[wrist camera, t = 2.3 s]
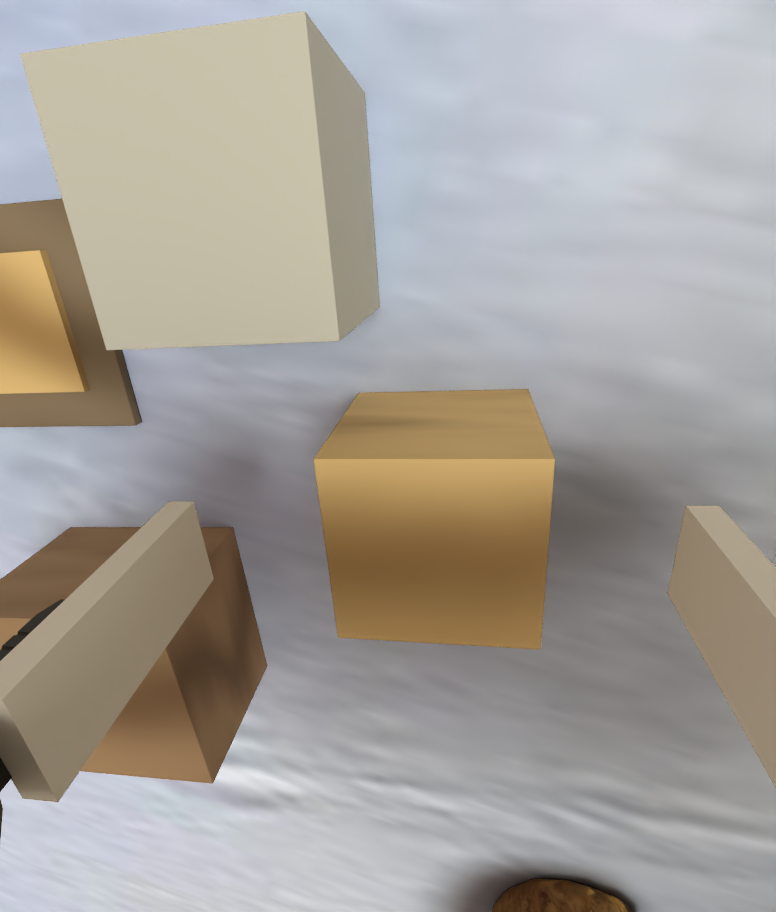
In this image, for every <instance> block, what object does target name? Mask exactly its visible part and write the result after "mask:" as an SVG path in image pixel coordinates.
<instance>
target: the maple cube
mask: <svg viewBox="0 0 776 912" xmlns="http://www.w3.org/2000/svg"><path fill="white" fill-rule="evenodd" d="M314 466H315V473H316V481H317V488H318V495H319V503H320V510H321V517H322V525H323V532H324V539H325V547H326V554H327V561H328V569H329V576H330V583H331V590H332V598H333V605H334V612H335V620H336V627H337V634H338V638H353V639H370V640H387V641H404V642H421V643H438V644H455V645H472V646H489V647H506V648H523V649H540V650H541V638H542V625H543V612H544V599H545V585H546V572H547V559H548V546H549V533H550V519H551V506H552V493H553V480H554V467H555V458H554V455H553V453H552V450H551V447H550V445H549V442H548V440H547V437H546V434H545V432H544V429H543V427H542V424H541V421H540V419H539V416H538V414H537V411H536V408H535V406H534V403H533V401H532V398H531V395H530V393H529V390H528V389H510V390H463V391H417V392H370V393H358V395H357V396H356V398H355V399H354V401H353V402H352V403H351V405H350V406H349V408H348V409H347V411H346V412H345V414H344V415H343V417H342V418H341V420H340V421H339V423H338V424H337V425H336V427H335V428H334V430H333V431H332V433H331V434H330V436H329V437H328V439H327V440H326V442H325V443H324V445H323V446H322V447H321V449H320V450H319V452H318V453H317V455H316V456H315V458H314Z"/></svg>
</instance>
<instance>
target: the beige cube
mask: <svg viewBox="0 0 776 912" xmlns="http://www.w3.org/2000/svg"><path fill="white" fill-rule="evenodd" d="M20 56H21V59H22V63H23V66H24V70H25V73H26V76H27V80H28V83H29V87H30V90H31V93H32V97H33V100H34V104H35V107H36V111H37V114H38V117H39V121H40V124H41V128H42V131H43V135H44V138H45V141H46V145H47V148H48V152H49V155H50V159H51V162H52V165H53V169H54V172H55V176H56V179H57V182H58V186H59V189H60V193H61V196H62V200H63V203H64V206H65V210H66V213H67V217H68V220H69V224H70V227H71V230H72V234H73V237H74V241H75V244H76V248H77V251H78V254H79V258H80V261H81V265H82V268H83V271H84V275H85V278H86V282H87V285H88V289H89V292H90V295H91V299H92V302H93V306H94V309H95V313H96V316H97V319H98V323H99V326H100V330H101V333H102V337H103V340H104V343H105V347H106V350H124V349H149V348H175V347H200V346H225V345H250V344H275V343H300V342H326V341H340V340H341V339H342V338H343V337H345V336H346V335H347V334H348V333H349V332H351V331H352V330H353V329H354V328H355V327H356V326H358V325H359V324H360V323H361V322H362V321H363V320H365V319H366V318H367V317H368V316H369V315H371V314H372V313H373V312H374V311H375V310H376V309H378V308H379V307H380V301H379V287H378V273H377V258H376V244H375V230H374V215H373V201H372V187H371V172H370V158H369V144H368V130H367V115H366V101H365V92H364V91H363V90H362V88H361V87H360V86H359V84H358V83H357V81H356V80H355V79H354V77H353V76H352V75H351V73H350V72H349V71H348V69H347V68H346V66H345V65H344V64H343V62H342V61H341V60H340V58H339V57H338V56H337V54H336V53H335V51H334V50H333V49H332V47H331V46H330V45H329V43H328V42H327V41H326V39H325V38H324V36H323V35H322V34H321V32H320V31H319V30H318V28H317V27H316V26H315V24H314V23H313V21H312V20H311V19H310V17H309V16H308V15H307V13H306V12H305V11H304V12H297V13H291V14H284V15H277V16H270V17H264V18H257V19H250V20H244V21H237V22H230V23H223V24H217V25H210V26H203V27H196V28H190V29H183V30H176V31H170V32H163V33H156V34H149V35H143V36H136V37H129V38H123V39H116V40H109V41H102V42H96V43H89V44H82V45H76V46H69V47H62V48H55V49H49V50H42V51H35V52H29V53H22V54H20Z"/></svg>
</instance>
